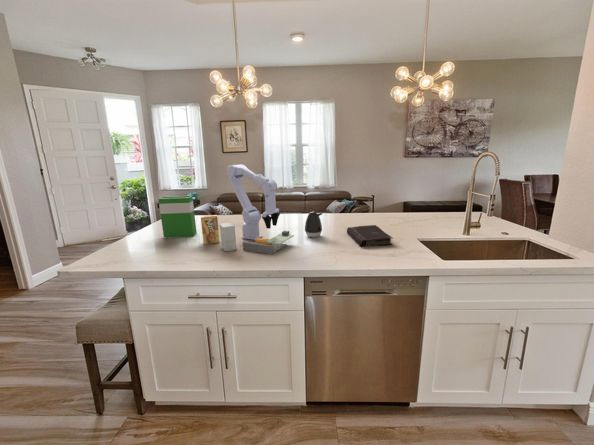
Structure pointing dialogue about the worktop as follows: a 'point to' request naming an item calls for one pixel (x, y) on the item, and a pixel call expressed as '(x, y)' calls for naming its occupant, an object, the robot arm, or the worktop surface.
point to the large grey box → (262, 247)
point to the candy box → (210, 229)
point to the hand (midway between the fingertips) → (271, 226)
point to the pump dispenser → (313, 224)
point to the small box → (228, 236)
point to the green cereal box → (177, 216)
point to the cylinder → (262, 241)
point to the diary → (369, 236)
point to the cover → (280, 238)
